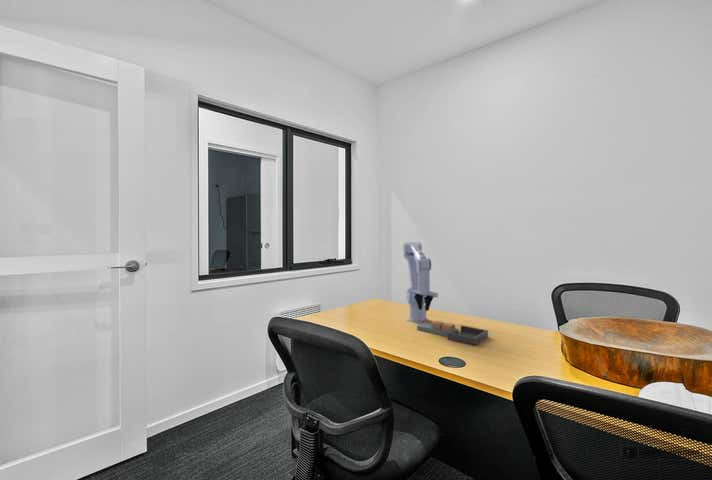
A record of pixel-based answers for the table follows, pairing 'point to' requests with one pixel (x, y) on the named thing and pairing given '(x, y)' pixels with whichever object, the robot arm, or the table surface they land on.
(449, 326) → the tile front
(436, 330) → the slate plate
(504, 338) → the table surface
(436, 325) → the tile back
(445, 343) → the table surface
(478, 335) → the box
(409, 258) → the robot arm
